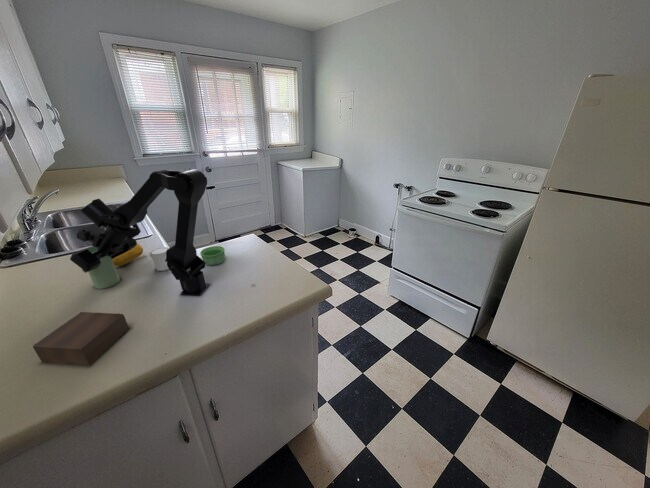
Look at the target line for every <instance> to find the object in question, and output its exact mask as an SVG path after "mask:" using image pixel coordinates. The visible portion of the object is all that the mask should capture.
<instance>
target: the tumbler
mask: <svg viewBox="0 0 650 488" xmlns="http://www.w3.org/2000/svg"><path fill="white" fill-rule="evenodd" d="M84 249H87V250H88V251H90V252H91V253H92V254H93V253H95V252H97V251H98V249H97V247H94V246H92V245H91V246H88V247H84ZM100 256H101V255H100ZM100 262H101V264H100V265H99V267H97V268H95V269H93V270H91V271H89V272H87V273H88V275H89V277H90V280H91V282H92V284H93V287H94V288H95V289H99V290H102V289H106V288H111V287H112V286H115V285H116V284H118V283H119V282H120V281H121V280H120V276H119V274H118V271H117V269H116V266H114V263H113V260H112V258H111V257H109V256H106V257H104V258H102V259H100Z"/></svg>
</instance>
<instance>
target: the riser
mask: <svg viewBox="0 0 650 488" xmlns="http://www.w3.org/2000/svg"><path fill="white" fill-rule="evenodd" d="M127 322H128V321H127V319H126V318H125V315H124V313H113V312H112V313H109V312H93V311H92V312H89V311H80V312H79V313H77V314H76V315H75V316H73V317H72V318H70V319H69V320H67V321H66V322H64V323H63V324H61V325H60V326H59V327H57V328H56V329H54V330H53V331H52V332H50V333H49V334H48V335H46V336H44V337H43V338H41V340H39V341H37V342H36V343H34V344H33V345H32V348H33V350H34V351H35V353H36V356H38V358H39V360H40V361H41V363H43V364H45V363H47V364H58V365H75V366H91V365H92V364H94V363H95V361H97V360H98V359H100V357H101V356H102V355H103V354H104V353H105V352H107V351H108V350H109V348H111V347H112V346H113V345H114V344H115V343H116V342H117V341H118V340H119V339H121V337H123V335H125V333H127V332H128V331H129V330H130V327H129V325H128V323H127Z"/></svg>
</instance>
